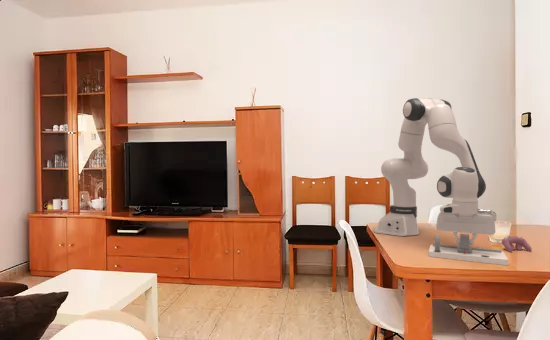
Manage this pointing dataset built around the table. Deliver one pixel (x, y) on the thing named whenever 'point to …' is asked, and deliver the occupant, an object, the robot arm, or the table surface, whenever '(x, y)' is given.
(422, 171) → the robot arm
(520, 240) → the video game controller
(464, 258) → the gauge board
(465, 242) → the leg
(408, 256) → the table surface
